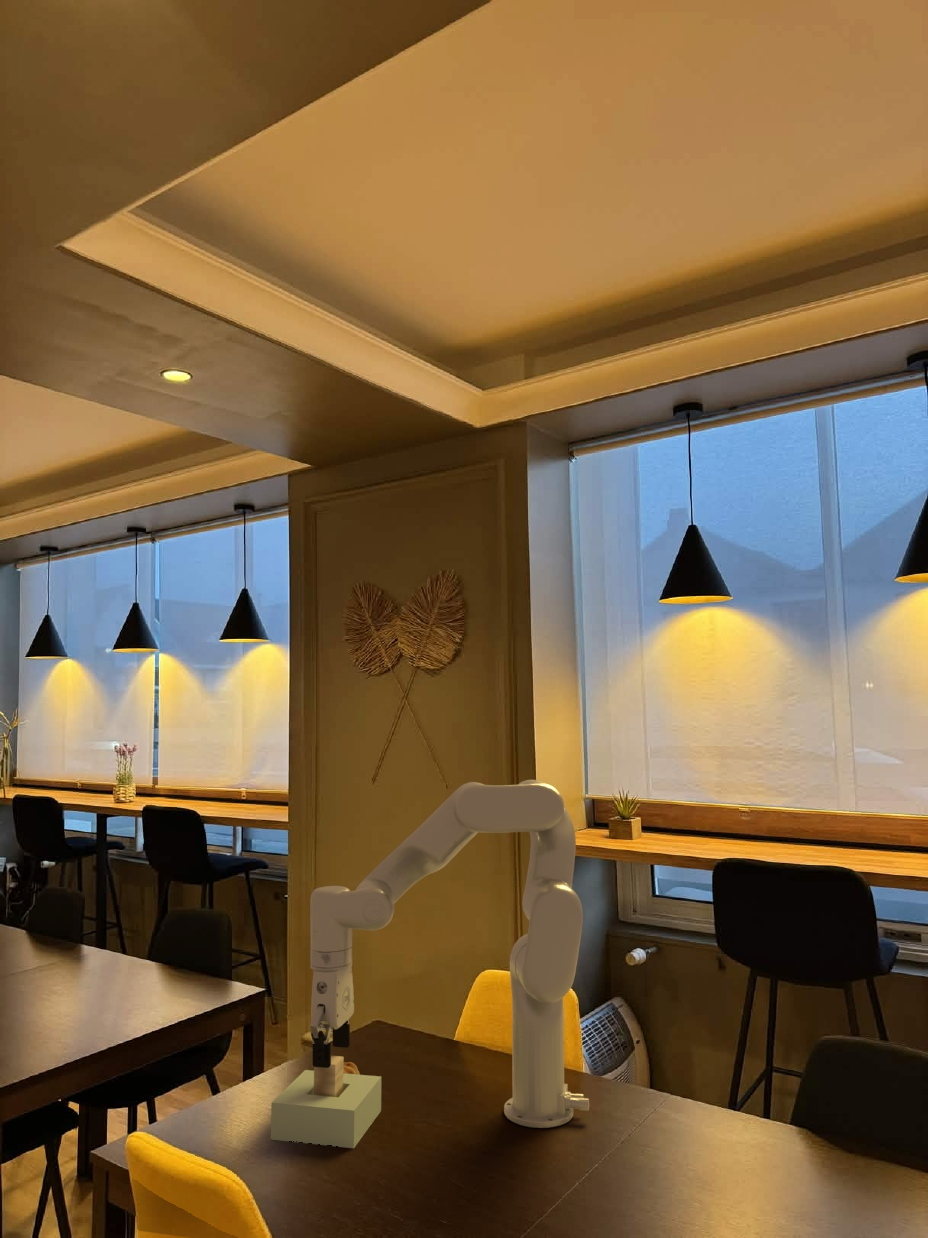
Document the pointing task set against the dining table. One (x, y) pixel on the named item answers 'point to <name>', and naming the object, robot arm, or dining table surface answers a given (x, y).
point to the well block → (326, 1111)
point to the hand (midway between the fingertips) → (331, 1056)
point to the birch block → (329, 1078)
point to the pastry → (350, 1068)
